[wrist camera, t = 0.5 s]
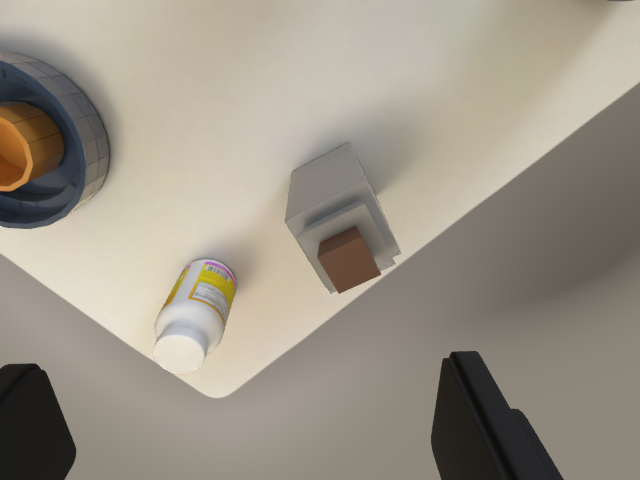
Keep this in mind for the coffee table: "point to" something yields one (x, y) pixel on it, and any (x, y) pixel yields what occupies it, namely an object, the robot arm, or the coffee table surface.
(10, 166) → the small bowl
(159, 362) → the supplement bottle
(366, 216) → the perfume bottle
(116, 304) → the coffee table surface
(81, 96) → the serving bowl
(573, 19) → the coffee table surface
